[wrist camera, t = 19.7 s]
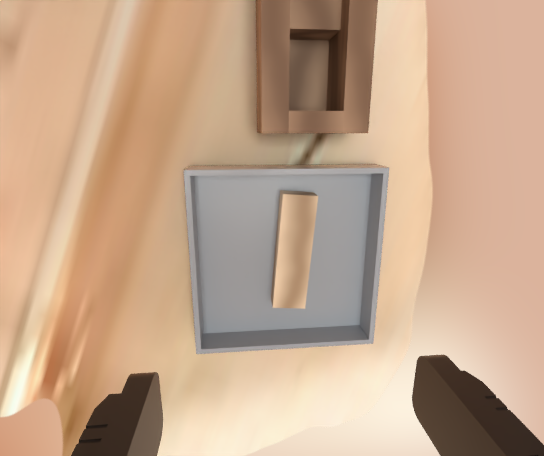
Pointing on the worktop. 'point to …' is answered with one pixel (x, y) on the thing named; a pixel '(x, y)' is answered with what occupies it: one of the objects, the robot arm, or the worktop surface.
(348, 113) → the walnut frame
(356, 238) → the slate tray
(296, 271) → the maple bar
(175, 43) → the worktop surface
